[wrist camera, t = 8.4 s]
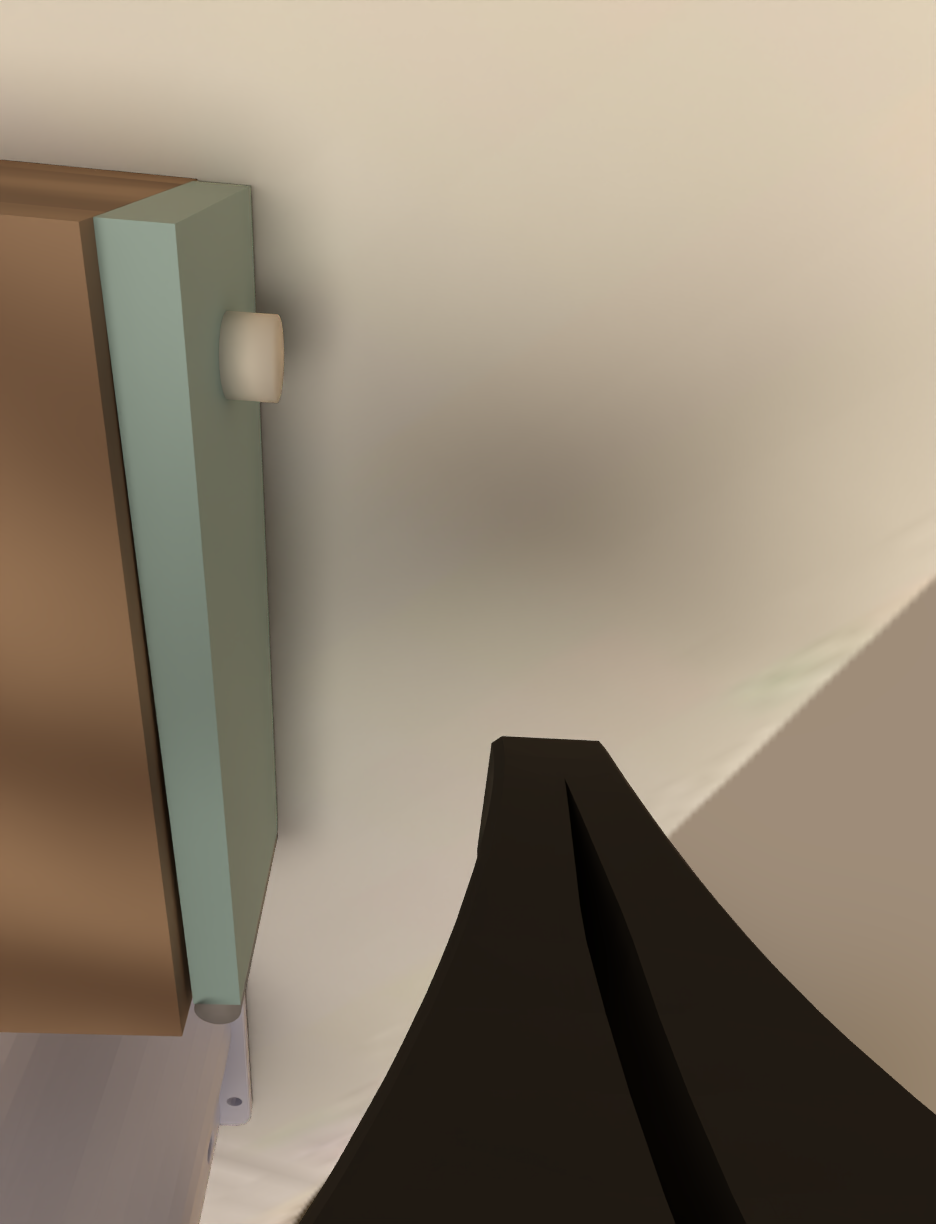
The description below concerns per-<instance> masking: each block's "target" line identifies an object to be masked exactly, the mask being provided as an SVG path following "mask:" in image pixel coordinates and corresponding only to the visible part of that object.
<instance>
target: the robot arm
mask: <svg viewBox="0 0 936 1224" xmlns="http://www.w3.org/2000/svg"><path fill="white" fill-rule="evenodd" d="M194 1006H195V1004H193V997H192V1001H191V1005H190V1009H189V1012H188V1016H187V1020H186V1024H185V1027H184V1031H183V1035H182V1036H140V1035H97V1034H54V1033H11V1032H0V1224H199V1222H200V1217H201V1213H202V1208H203V1203H204V1198H205V1193H206V1188H207V1184H208V1179H209V1174H210V1169H211V1164H212V1160H213V1155H214V1150H215V1145H216V1140H217V1135H218V1131H219V1126H220V1125H242V1124H245V1123H247V1122H248V1121H249V1120H250V1118H251V1112H252V1096H251V1081H250V1065H249V1049H248V1033H247V1017H246V1001H245V995H244V1000H243V1005H242V1010H241V1014H240V1016H239V1018H237V1019H236V1020H235V1021H233V1022H231V1023H227V1024H213V1023H209V1022H206V1021H204V1020H202V1019H200V1018H199V1017H198V1016H197V1015H196V1013H195V1011H194ZM299 1224H936V1115H935V1114H934V1113H933V1112H932V1111H931V1110H929V1109H928V1108H927V1107H926V1106H925V1105H923V1104H922V1103H921V1102H920V1101H918V1100H917V1099H916V1098H915V1097H914V1096H913V1095H912V1094H910V1093H909V1092H908V1091H907V1090H906V1089H905V1088H903V1087H902V1086H901V1085H900V1084H899V1083H898V1082H897V1081H895V1080H894V1079H893V1078H892V1077H891V1076H890V1075H889V1074H888V1073H886V1072H885V1071H884V1070H883V1069H882V1068H881V1067H880V1066H879V1065H877V1064H876V1063H875V1062H874V1061H873V1060H872V1059H871V1058H869V1057H868V1056H867V1055H866V1054H865V1053H864V1052H863V1051H861V1050H860V1049H859V1048H858V1047H857V1046H856V1045H855V1044H853V1043H852V1042H851V1041H850V1040H849V1039H848V1038H847V1037H846V1036H845V1035H844V1034H842V1033H841V1032H840V1031H839V1030H838V1029H837V1028H836V1027H835V1026H834V1025H833V1024H832V1023H831V1022H830V1021H829V1020H828V1019H827V1018H825V1017H824V1016H823V1015H822V1014H821V1013H820V1012H819V1011H818V1010H817V1009H816V1008H815V1007H814V1006H813V1005H812V1004H811V1003H810V1002H809V1001H808V1000H807V999H806V998H805V997H804V996H803V995H802V994H801V993H800V992H799V991H798V990H797V989H796V988H795V987H794V986H793V985H792V984H791V983H790V982H789V981H788V980H787V979H786V978H785V977H784V976H783V975H782V974H781V973H780V972H779V971H778V969H777V968H776V967H775V966H774V965H773V964H772V963H771V962H770V961H769V960H768V959H767V958H766V957H765V956H764V954H763V953H762V952H761V951H760V950H759V949H758V948H757V947H756V945H755V944H754V943H753V942H752V941H751V940H750V939H749V938H748V937H747V936H746V934H745V933H744V932H743V931H742V930H741V928H740V927H739V926H738V925H737V924H736V923H735V921H734V920H732V918H731V917H730V916H729V914H728V913H727V912H726V911H725V910H724V909H723V907H722V906H721V905H720V904H719V903H718V902H717V900H716V899H715V898H714V897H713V895H712V894H711V893H710V892H709V891H708V889H707V888H706V887H705V886H704V884H703V883H702V882H701V881H700V880H699V878H698V877H697V876H696V874H695V873H694V872H693V871H692V869H691V868H690V867H689V865H688V864H687V863H686V862H685V860H684V859H683V857H682V856H681V855H680V854H679V852H678V851H677V850H676V848H675V847H674V846H673V844H672V843H671V842H670V841H669V839H668V838H667V837H666V835H665V834H664V832H663V831H662V830H661V828H660V827H659V826H658V824H657V823H656V822H655V820H654V819H653V817H652V816H651V815H650V813H649V812H648V810H647V809H646V808H645V806H644V805H643V803H642V802H641V800H640V799H639V798H638V796H637V795H636V793H635V792H634V790H633V789H632V787H631V786H630V785H629V783H628V782H627V780H626V779H625V777H624V776H623V774H622V773H621V771H620V770H619V768H618V767H617V765H616V764H615V762H614V761H613V759H612V758H611V756H610V755H609V753H608V752H607V750H606V749H605V748H604V747H603V745H602V744H601V743H600V742H599V741H587V740H567V739H547V738H526V737H506V736H502V737H500V738H499V739H497V740H496V741H494V742H493V743H492V744H491V752H490V759H489V767H488V774H487V781H486V789H485V796H484V804H483V811H482V818H481V826H480V833H479V840H478V848H477V860H476V863H475V867H474V870H473V873H472V876H471V879H470V882H469V885H468V888H467V891H466V894H465V897H464V900H463V903H462V905H461V908H460V911H459V914H458V917H457V920H456V923H455V925H454V928H453V931H452V933H451V936H450V938H449V941H448V943H447V946H446V948H445V951H444V953H443V956H442V958H441V961H440V963H439V965H438V968H437V970H436V972H435V975H434V977H433V979H432V981H431V984H430V986H429V988H428V991H427V993H426V995H425V997H424V999H423V1002H422V1004H421V1006H420V1008H419V1010H418V1012H417V1014H416V1016H415V1018H414V1020H413V1022H412V1025H411V1027H410V1029H409V1031H408V1033H407V1035H406V1037H405V1039H404V1041H403V1043H402V1045H401V1047H400V1049H399V1051H398V1053H397V1055H396V1057H395V1059H394V1061H393V1063H392V1065H391V1067H390V1069H389V1071H388V1073H387V1075H386V1077H385V1078H384V1080H383V1082H382V1084H381V1086H380V1088H379V1089H378V1091H377V1093H376V1095H375V1096H374V1098H373V1100H372V1102H371V1104H370V1105H369V1107H368V1109H367V1111H366V1113H365V1114H364V1116H363V1118H362V1120H361V1121H360V1123H359V1125H358V1127H357V1129H356V1130H355V1132H354V1134H353V1136H352V1137H351V1139H350V1141H349V1143H348V1145H347V1146H346V1148H345V1150H344V1152H343V1153H342V1155H341V1157H340V1159H339V1160H338V1162H337V1164H336V1165H335V1167H334V1169H333V1170H332V1172H331V1174H330V1175H329V1177H328V1179H327V1180H326V1182H325V1184H324V1185H323V1187H322V1188H321V1190H320V1192H319V1193H318V1195H317V1196H316V1198H315V1199H314V1201H313V1203H312V1204H311V1206H310V1207H309V1209H308V1210H307V1212H306V1214H305V1215H304V1217H303V1218H302V1220H301V1221H300V1223H299Z"/></svg>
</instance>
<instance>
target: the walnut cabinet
mask: <svg viewBox="0 0 936 1224" xmlns="http://www.w3.org/2000/svg"><path fill="white" fill-rule="evenodd" d="M191 181H197V179H192V178H182V177H171V176H161V175H151V174H141V173H130V172H120V171H110V170H100V169H89V168H79V167H69V166H59V165H48V164H38V163H28V162H18V161H8V160H0V1032H11V1033H54V1034H97V1035H140V1036H182V1035H183V1031H184V1027H185V1024H186V1020H187V1016H188V1012H189V1009H190V1005H191V1001H192V997H193V996H192V989H191V981H190V973H189V965H188V957H187V950H186V942H185V934H184V926H183V918H182V911H181V903H180V895H179V887H178V880H177V872H176V864H175V856H174V848H173V841H172V833H171V825H170V817H169V809H168V802H167V794H166V786H165V778H164V771H163V763H162V755H161V747H160V739H159V732H158V724H157V716H156V708H155V700H154V693H153V685H152V677H151V669H150V661H149V654H148V646H147V638H146V630H145V623H144V615H143V607H142V599H141V591H140V584H139V576H138V568H137V560H136V552H135V545H134V537H133V529H132V521H131V514H130V506H129V498H128V490H127V482H126V475H125V467H124V459H123V451H122V443H121V436H120V428H119V420H118V412H117V404H116V397H115V389H114V381H113V373H112V366H111V358H110V350H109V342H108V334H107V327H106V319H105V311H104V303H103V295H102V288H101V280H100V272H99V264H98V256H97V247H96V239H95V231H94V222H93V217H95V216H97V215H100V214H103V213H106V212H108V211H111V210H114V209H117V208H119V207H122V206H125V205H128V204H130V203H133V202H136V201H139V200H142V199H144V198H147V197H150V196H153V195H155V194H158V193H161V192H164V191H166V190H169V189H172V188H175V187H177V186H180V185H183V184H186V183H188V182H191Z"/></svg>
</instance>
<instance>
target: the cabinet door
mask: <svg viewBox="0 0 936 1224" xmlns="http://www.w3.org/2000/svg"><path fill="white" fill-rule="evenodd" d="M93 222H94V231H95V239H96V247H97V256H98V264H99V272H100V280H101V288H102V295H103V303H104V311H105V319H106V327H107V334H108V342H109V350H110V358H111V366H112V373H113V381H114V389H115V397H116V404H117V412H118V420H119V428H120V436H121V443H122V451H123V459H124V467H125V475H126V482H127V490H128V498H129V506H130V514H131V521H132V529H133V537H134V545H135V552H136V560H137V568H138V576H139V584H140V591H141V599H142V607H143V615H144V623H145V630H146V638H147V646H148V654H149V661H150V669H151V677H152V685H153V693H154V700H155V708H156V716H157V724H158V732H159V739H160V747H161V755H162V763H163V771H164V778H165V786H166V794H167V802H168V809H169V817H170V825H171V833H172V841H173V848H174V856H175V864H176V872H177V880H178V887H179V895H180V903H181V911H182V918H183V926H184V934H185V942H186V950H187V957H188V965H189V973H190V981H191V989H192V996H193V1004H195V1006H194V1011H195V1013H196V1015H197V1016H198V1017H199V1018H200V1019H202V1020H204V1021H206V1022H209V1023H213V1024H227V1023H231V1022H233V1021H235V1020H236V1019H237V1018H239V1016H240V1014H241V1010H242V1005H243V1000H244V995H245V990H246V986H247V981H248V976H249V971H250V967H251V962H252V957H253V952H254V948H255V943H256V938H257V933H258V928H259V924H260V919H261V914H262V909H263V905H264V900H265V895H266V890H267V886H268V881H269V876H270V871H271V866H272V862H273V857H274V852H275V847H276V843H277V838H278V833H277V830H278V828H277V804H276V780H275V757H274V733H273V709H272V685H271V661H270V637H269V613H268V590H267V566H266V542H265V518H264V494H263V470H262V446H261V423H260V402H272V403H278V402H279V400H280V396H281V392H282V385H283V374H284V338H283V328H282V322H281V318H280V316H279V315H278V314H265V313H256V303H255V280H254V256H253V232H252V208H251V186H247V185H235V184H224V183H212V182H201V181H191V182H188V183H186V184H183V185H180V186H177V187H175V188H172V189H169V190H166V191H164V192H161V193H158V194H155V195H153V196H150V197H147V198H144V199H142V200H139V201H136V202H133V203H130V204H128V205H125V206H122V207H119V208H117V209H114V210H111V211H108V212H106V213H103V214H100V215H97V216H95V217H93Z"/></svg>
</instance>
